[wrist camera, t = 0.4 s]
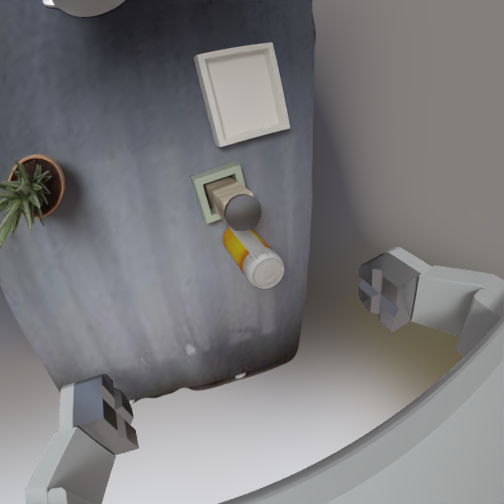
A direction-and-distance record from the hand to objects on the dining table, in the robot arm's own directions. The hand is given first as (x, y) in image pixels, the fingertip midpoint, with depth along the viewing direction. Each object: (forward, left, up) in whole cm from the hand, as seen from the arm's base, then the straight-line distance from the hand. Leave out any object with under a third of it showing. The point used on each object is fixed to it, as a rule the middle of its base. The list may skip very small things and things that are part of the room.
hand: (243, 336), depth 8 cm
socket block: (+11, +10, -45) cm, 47 cm away
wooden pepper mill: (+11, +10, -45) cm, 47 cm away
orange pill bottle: (+21, +11, -45) cm, 51 cm away
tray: (-5, +18, -45) cm, 48 cm away
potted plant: (-2, -18, -45) cm, 49 cm away
